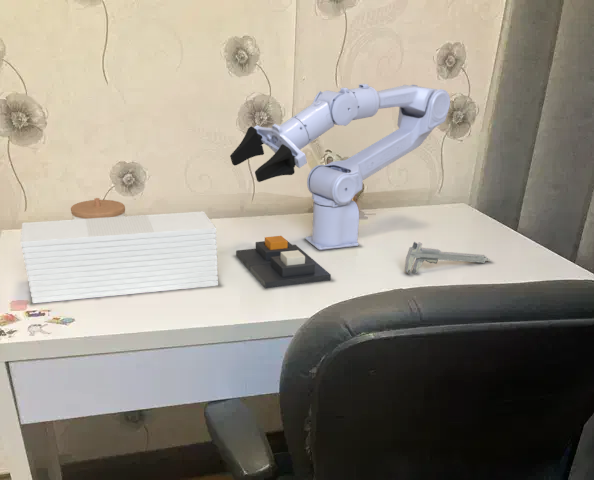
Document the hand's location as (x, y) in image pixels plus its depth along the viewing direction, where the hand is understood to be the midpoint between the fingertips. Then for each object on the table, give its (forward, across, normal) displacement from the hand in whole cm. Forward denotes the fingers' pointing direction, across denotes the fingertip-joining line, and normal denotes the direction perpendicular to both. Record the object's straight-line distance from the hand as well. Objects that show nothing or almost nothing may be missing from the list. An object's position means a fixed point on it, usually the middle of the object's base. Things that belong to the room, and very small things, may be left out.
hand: (244, 168), depth 123 cm
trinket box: (+26, -22, +14) cm, 37 cm away
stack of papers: (+30, 0, +6) cm, 31 cm away
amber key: (+1, +6, +15) cm, 17 cm away
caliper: (-22, +31, +23) cm, 45 cm away
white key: (+3, +15, +12) cm, 20 cm away
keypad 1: (+3, +7, +17) cm, 19 cm away
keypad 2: (+5, +15, +14) cm, 21 cm away
